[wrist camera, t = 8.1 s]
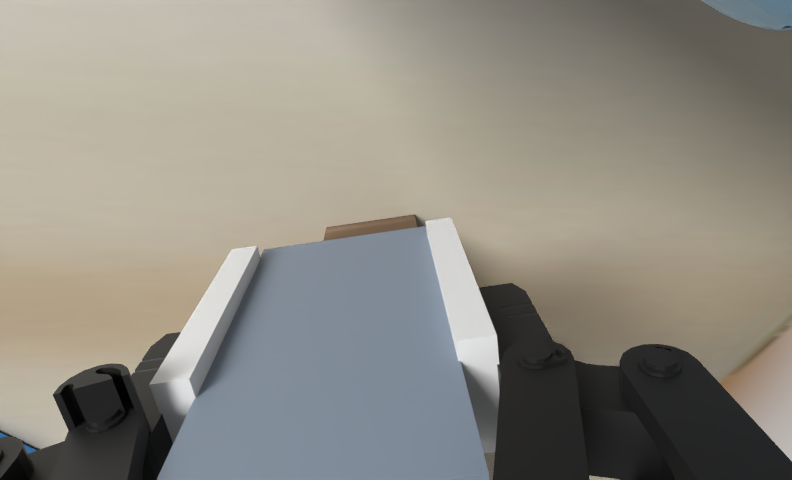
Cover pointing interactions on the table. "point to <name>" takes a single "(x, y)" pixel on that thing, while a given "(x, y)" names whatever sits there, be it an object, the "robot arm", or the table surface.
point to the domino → (335, 373)
